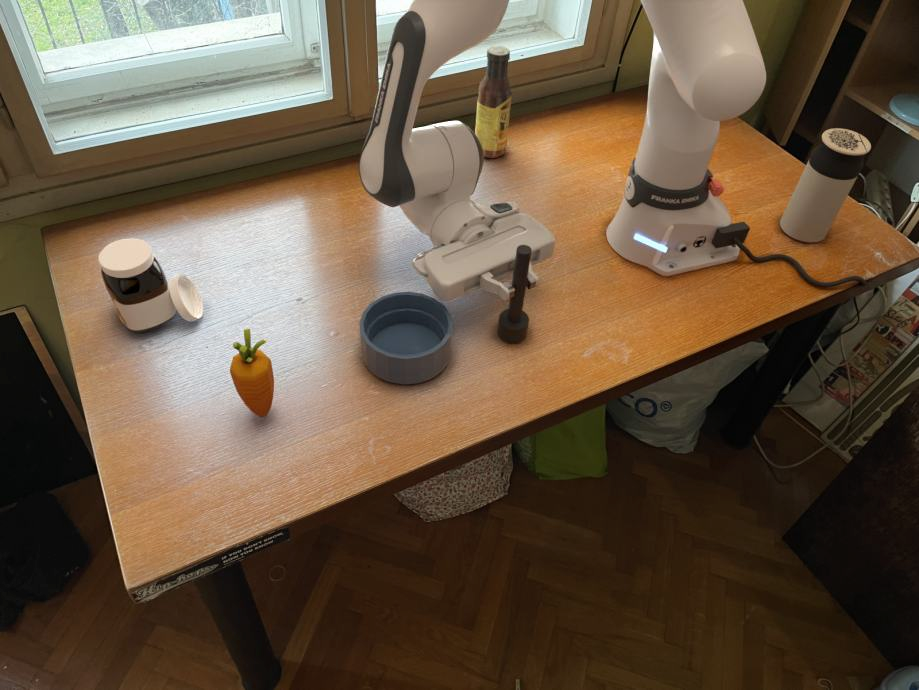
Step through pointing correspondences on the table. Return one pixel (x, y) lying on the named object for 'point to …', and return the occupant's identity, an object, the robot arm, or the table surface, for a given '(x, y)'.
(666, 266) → the robot arm
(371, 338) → the bowl
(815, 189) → the travel mug
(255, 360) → the carrot
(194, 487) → the table surface
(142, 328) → the spread jar
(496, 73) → the sauce bottle
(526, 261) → the black rod with base
